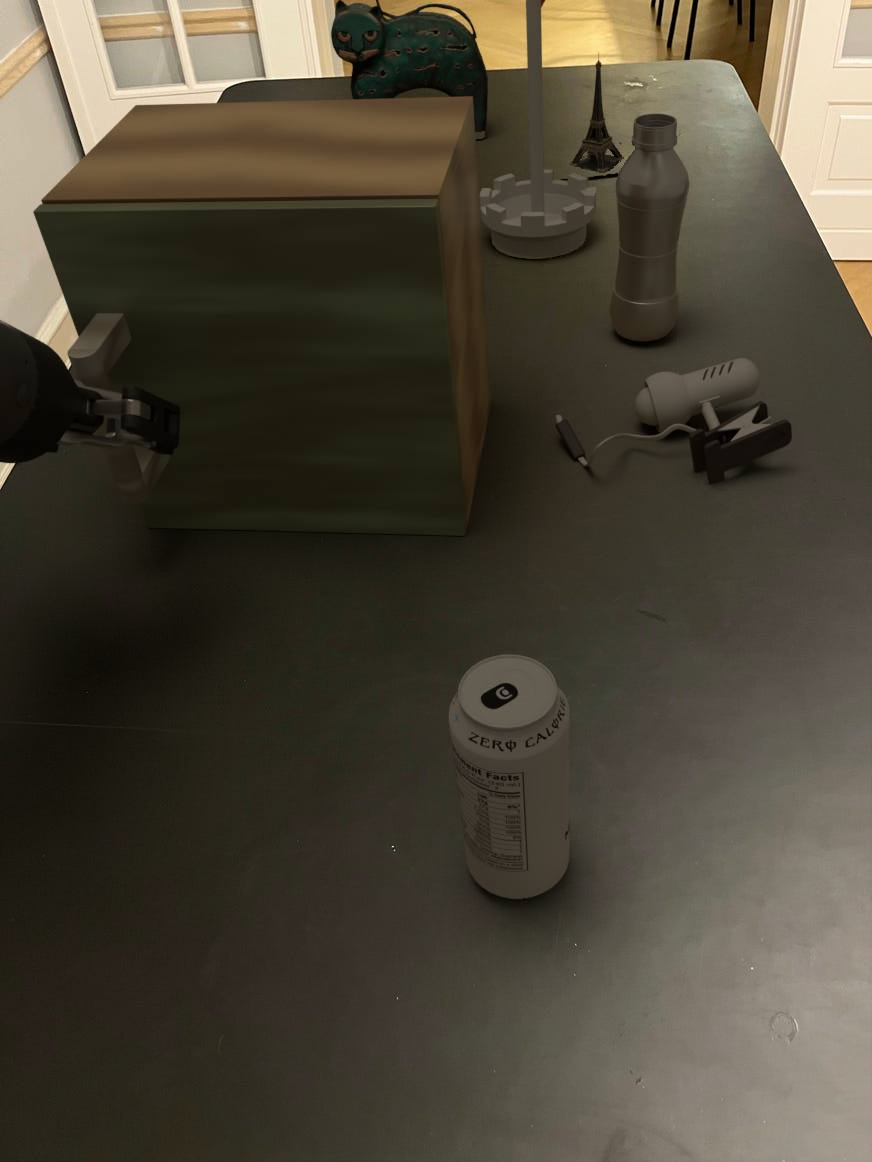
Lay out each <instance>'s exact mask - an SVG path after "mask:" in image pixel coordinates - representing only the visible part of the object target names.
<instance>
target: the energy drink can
mask: <svg viewBox="0 0 872 1162" xmlns="http://www.w3.org/2000/svg"><path fill="white" fill-rule="evenodd" d="M457 690H458V691H457V692H456V694H455V695H454V696H453V698H452V701H451V702H450V705H449V708H448V724H449V725H448V726H449V732H450V733H449V734H450V742H451V747H452V748H451V749H452V755H453V756H452V758H453V764H454V766H453V767H454V772H455V773H454V774H455V780H456V790H457V797H458V804H459V805H458V806H459V813H460V821H461V828H462V829H461V830H462V836H463V837H462V839H463V845H464V846H463V847H464V852H465V859H466V860H465V861H466V866H467V869H468V871H469V873H470V875H471V877H472V878H473V879H474V881H475V882H476V883H477V884H478V885H479V886H480V887H481V888H483V889H485V890H486V891H487V892H488V893H490V894H493V895H495V896H498V897H500V898H501V897H502V898H505V899H510V900H523V898H525V899H530V898H533V897H536V896H539V895H542V894H543V893H546V892H547V891H549V890H551V889H552V888H553V887H554V886H555V885H557V884H558V883H559V882H560V880H561V879H562V878H563V876H564V875H565V873H566V871H567V869H568V866H569V862H570V854H571V853H570V852H571V851H570V849H571V847H570V845H571V844H570V839H571V838H570V836H571V835H570V833H571V829H570V828H571V827H570V825H571V823H570V819H571V815H570V814H571V813H570V812H571V811H570V809H571V805H570V802H571V796H570V792H571V791H570V789H571V787H570V785H571V784H570V782H571V779H570V778H571V769H570V768H571V767H570V766H571V765H570V763H571V761H570V760H571V759H570V757H571V753H570V752H571V751H570V749H571V745H570V743H571V741H570V739H571V738H570V737H571V736H570V735H571V734H570V733H571V730H570V728H571V721H570V718H571V717H570V716H571V709H570V705H569V702H568V699H567V696H565V693H564V692H563V690H562V689H561V688H560V687H559V686H558V685H557V681H556V678H555V677H554V675H553V673H552V672H551V671H550V670H549V668H548V667H547V666H545V665H544V664H543V663H541V662H540V661H538V660H536V659H534V658H531V657H528V656H525V655H520V654H499V655H494V656H490V657H487V658H484V659H483V660H480V661H478V662H477V663H475V664H474V665H472V666H471V667H470V668H469V669H468V670H467V671H466V672H465V673H464V674H463V676H462V678H461V679H460V681H459V684H458V688H457ZM529 897H530V898H529Z"/></svg>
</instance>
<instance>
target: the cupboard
mask: <svg viewBox="0 0 872 1162" xmlns="http://www.w3.org/2000/svg"><path fill="white" fill-rule="evenodd" d="M476 144H477V143H476V140H475V125H474V107H473V97H472V96H468V97H450V96H435V97H434V96H431V97H400V98H399V97H398V98H397V97H394V98H390V99H353V98H352V99H321V100H320V99H318V100H317V99H316V100H315V99H314V100H280V101H279V100H278V101H277V100H276V101H275V100H274V101H242V102H241V101H237V102H205V103H204V102H202V103H201V102H200V103H165V104H164V103H161V104H160V103H159V104H158V103H157V104H135V105H134V106H133V107H132V108H131V109H130V110H128V112H127V113H126V114H125V115H124V116H123V117H122V118H121V119H120V120H119V121H118V122H117V123H116V124H115V125H114V126H113V127H112V128H111V129H109V131H108V132H107V133H106V134H105V136H103V137H102V139H100V140H99V141H98V142H97V143H96V144H95V145H94V146H93V148H91V149H90V150H89V152H87V153H86V154H85V155H84V156H83V157H82V158H81V159H80V160H79V161H78V162H77V163H76V164H75V165H74V166H73V167H72V168H71V169H70V170H69V171H68V172H67V173H66V174H65V175H64V176H63V177H62V178H61V179H60V180H59V181H58V182H57V183H56V184H55V185H54V186H53V187H52V188H51V189H50V191H48V193H46V194H45V195H44V196H43V198H41V200H40V202H41V204H96V203H168V202H241V201H314V200H387V199H438V201H439V212H440V224H441V235H442V247H443V258H444V270H445V281H446V293H447V304H448V316H449V327H450V339H451V350H452V362H453V373H454V385H455V396H456V408H457V419H458V431H459V442H460V454H461V465H462V477H463V488H464V500H465V511H466V523H467V526H469V525H468V524H469V519H470V514H471V509H472V503H473V499H474V494H475V490H476V489H475V488H476V483H477V478H478V473H479V468H480V462H481V457H482V453H483V448H484V443H485V438H486V431H487V426H488V423H489V422H488V421H489V416H490V413H491V406H492V396H491V381H490V379H491V378H490V364H489V363H490V361H489V345H488V328H487V313H486V312H487V311H486V294H485V277H484V262H483V261H484V260H483V247H482V246H483V245H482V228H481V210H480V192H479V179H478V176H479V175H478V161H477V145H476Z"/></svg>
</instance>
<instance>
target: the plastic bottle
mask: <svg viewBox="0 0 872 1162" xmlns="http://www.w3.org/2000/svg"><path fill="white" fill-rule="evenodd" d="M632 129H633V130H632V136H631V141H632V145H633V146H635V150H634V151H633V152H632V154H631V155H630V156H629V157H628V159H627V160H626V162H625V163H624V165H623V167H622V168H621V170H620V171H619V174H617V176H616V180H615V196H616V197H615V198H616V199H615V200H616V209H617V221H618V241H619V243H618V261H617V267H616V268H617V269H616V275H615V282H614V283H615V284H614V287H613V291H612V293H611V299H610V305H609V316H610V317H609V318H610V323H611V326H612V327H613V329H614V330H615V332H616V333H617V335H619V336H620V337H622V338H624V339H626V340H629V341H633V342H652V341H658V340H660V339H663V338H664V337H665V338H666V337H667V336H668V334H669V333H670V332H671V331H672V330H673V329H674V328H675V326H676V323H677V319H678V315H679V309H680V307H679V293H678V288H677V254H678V247H679V244H678V243H679V240H680V235H681V234H680V233H681V226H682V221H683V218H684V213H685V209H686V205H687V202H688V201H687V200H688V196H689V191H690V186H691V185H690V178H689V172H688V170H687V167H685V164H684V162H683V161H682V159H681V157H680V156H679V155H678V154H677V152H676V151H675V146H676V145H677V144H678V135H677V131H678V130H677V129H678V121H677V118H676V117H675V116H673V115H670V114H667V113H647V114H646V113H645V114H642V115H639V116H637V117H635V118H634V120H633V128H632Z"/></svg>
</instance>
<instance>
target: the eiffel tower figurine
mask: <svg viewBox="0 0 872 1162" xmlns="http://www.w3.org/2000/svg"><path fill="white" fill-rule="evenodd" d="M597 53H598V58H597V59H598V60H597V62H596V63H595V66H594V67H595V82H594V93H593V103H592V104H593V105H592V113H591V116H590V120H589V126H588V130H587V132H586V136H585V138H584V139H582V141H581V146H580V147H579V148H580V149H579V151H578V153H577V154H576V156H575V158H574V159H573V161H572V162H571V163H570V164H569V165H571V166H574V167H580V168H581V169H585V170H590V171H595V172H599V173H605V172H607V171H610V170H611V169H613V168H614V166H616V165H617V164H618V163H619V161H620V162H621V160H622V159H624V157H622V155H621V154H620V152H619V151H618V149H617V148H616V147H615V145H614V144H615V143H614V142H613V136H611V135H610V134H609V132H608V128H607V125H606V118H605V115H604V108H603V107H604V105H603V92H602V67H603V65H602V62H601V61H600V51H598V52H597ZM631 142H632V140H631ZM607 149H609V150H610V151H611V152H612V154H613V155H614V156H611V155H606V154H605V153H606V151H607ZM587 151H588V152H587ZM585 152H587V154H588V155H586V156H587V158H585V156H583V154H584V153H585ZM582 156H583V157H582ZM582 158H585V159H582ZM580 159H582V160H580Z"/></svg>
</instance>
